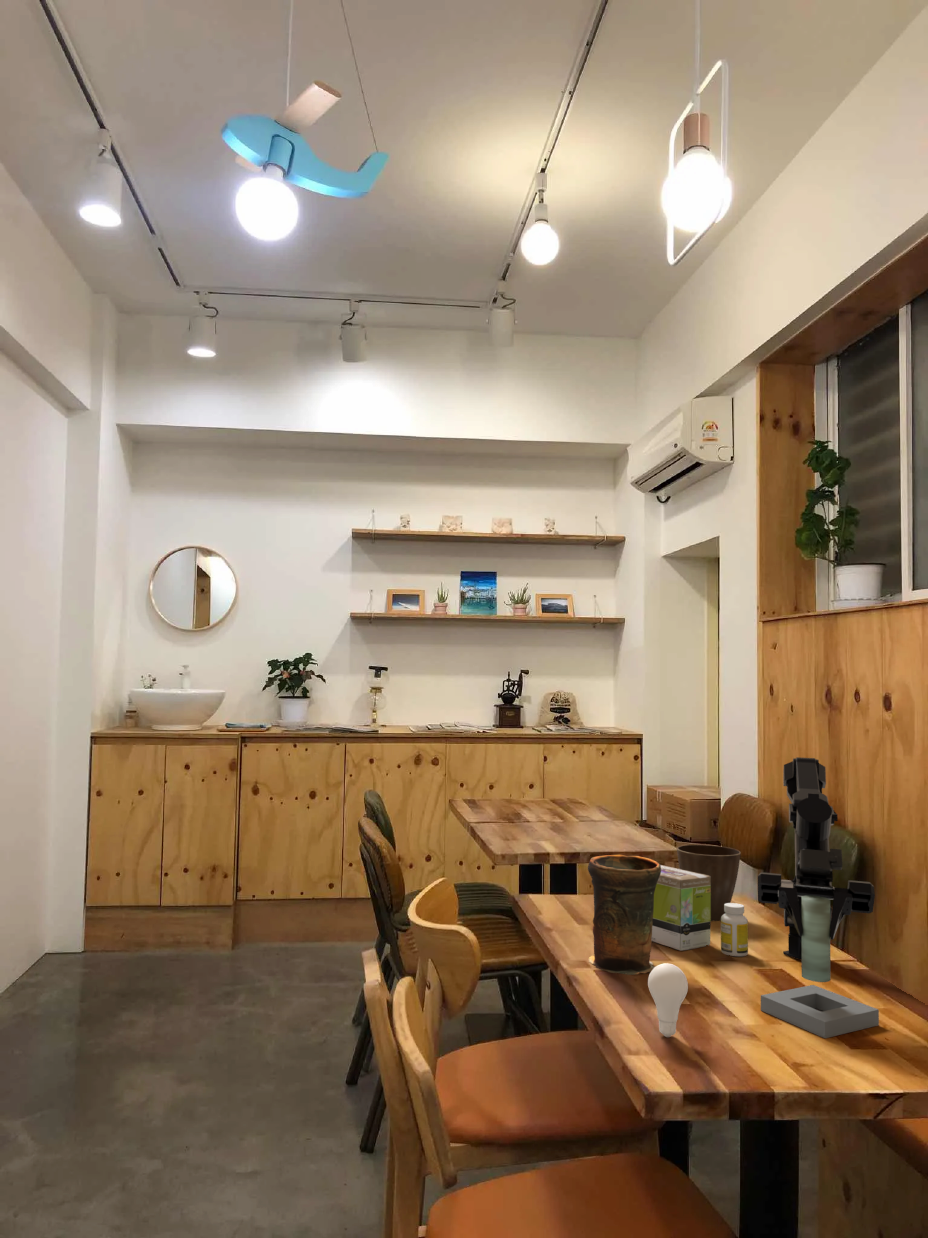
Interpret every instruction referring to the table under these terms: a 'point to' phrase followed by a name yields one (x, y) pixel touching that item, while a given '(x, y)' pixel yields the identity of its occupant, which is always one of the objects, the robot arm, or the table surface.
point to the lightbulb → (667, 995)
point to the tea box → (682, 909)
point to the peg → (816, 938)
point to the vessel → (623, 912)
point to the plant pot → (713, 871)
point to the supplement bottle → (734, 930)
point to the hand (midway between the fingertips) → (816, 936)
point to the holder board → (831, 1022)
